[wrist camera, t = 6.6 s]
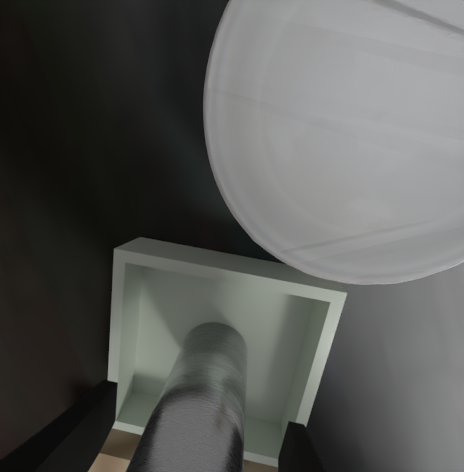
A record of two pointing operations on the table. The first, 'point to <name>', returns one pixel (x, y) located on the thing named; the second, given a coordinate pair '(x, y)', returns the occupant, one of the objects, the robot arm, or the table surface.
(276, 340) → the tray
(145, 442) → the white and gold cylinder
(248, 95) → the ramekin
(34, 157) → the table surface
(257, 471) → the wooden block with hole
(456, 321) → the table surface
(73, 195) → the table surface
